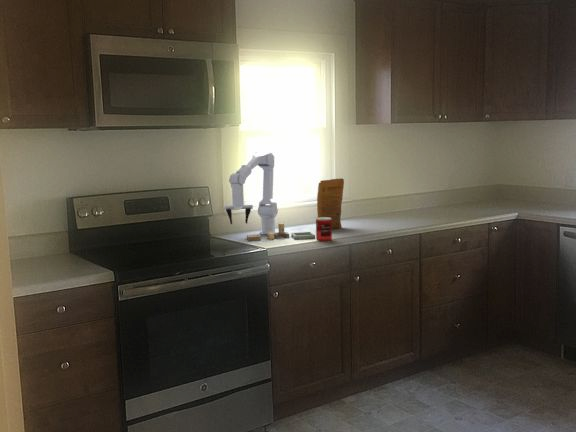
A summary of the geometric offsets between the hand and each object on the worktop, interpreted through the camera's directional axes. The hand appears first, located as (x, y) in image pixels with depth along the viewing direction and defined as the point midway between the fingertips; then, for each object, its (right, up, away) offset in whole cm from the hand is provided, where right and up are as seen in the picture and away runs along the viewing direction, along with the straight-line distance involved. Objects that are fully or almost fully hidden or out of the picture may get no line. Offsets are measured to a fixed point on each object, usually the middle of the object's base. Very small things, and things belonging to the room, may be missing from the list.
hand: (238, 223), depth 328 cm
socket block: (+22, -7, +8) cm, 24 cm away
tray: (+33, -7, +5) cm, 34 cm away
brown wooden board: (+7, -9, +3) cm, 12 cm away
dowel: (+22, -7, +8) cm, 24 cm away
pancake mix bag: (+49, -4, +34) cm, 59 cm away
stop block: (+16, -8, +4) cm, 18 cm away
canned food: (+43, -8, -6) cm, 44 cm away
